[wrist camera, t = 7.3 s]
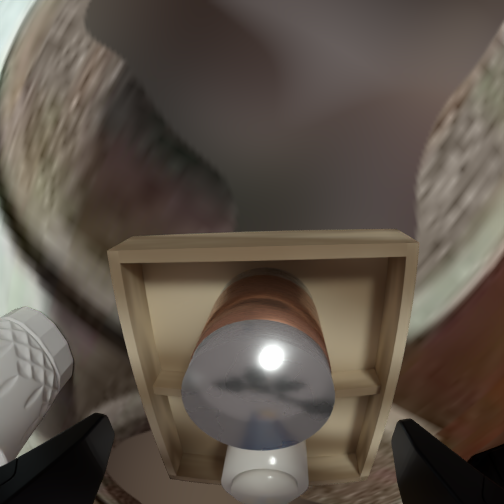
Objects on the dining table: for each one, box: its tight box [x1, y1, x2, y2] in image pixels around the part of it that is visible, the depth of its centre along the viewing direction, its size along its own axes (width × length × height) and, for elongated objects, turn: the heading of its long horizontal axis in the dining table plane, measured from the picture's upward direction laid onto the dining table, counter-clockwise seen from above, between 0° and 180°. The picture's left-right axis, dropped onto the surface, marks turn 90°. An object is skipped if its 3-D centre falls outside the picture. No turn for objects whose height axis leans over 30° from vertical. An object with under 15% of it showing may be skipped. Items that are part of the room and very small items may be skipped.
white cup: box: [0, 306, 73, 467], centre depth 15 cm, size 8×8×10 cm
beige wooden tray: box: [107, 229, 419, 486], centre depth 17 cm, size 17×14×3 cm
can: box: [181, 267, 335, 451], centre depth 13 cm, size 5×5×7 cm
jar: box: [221, 440, 309, 504], centre depth 16 cm, size 5×5×6 cm
